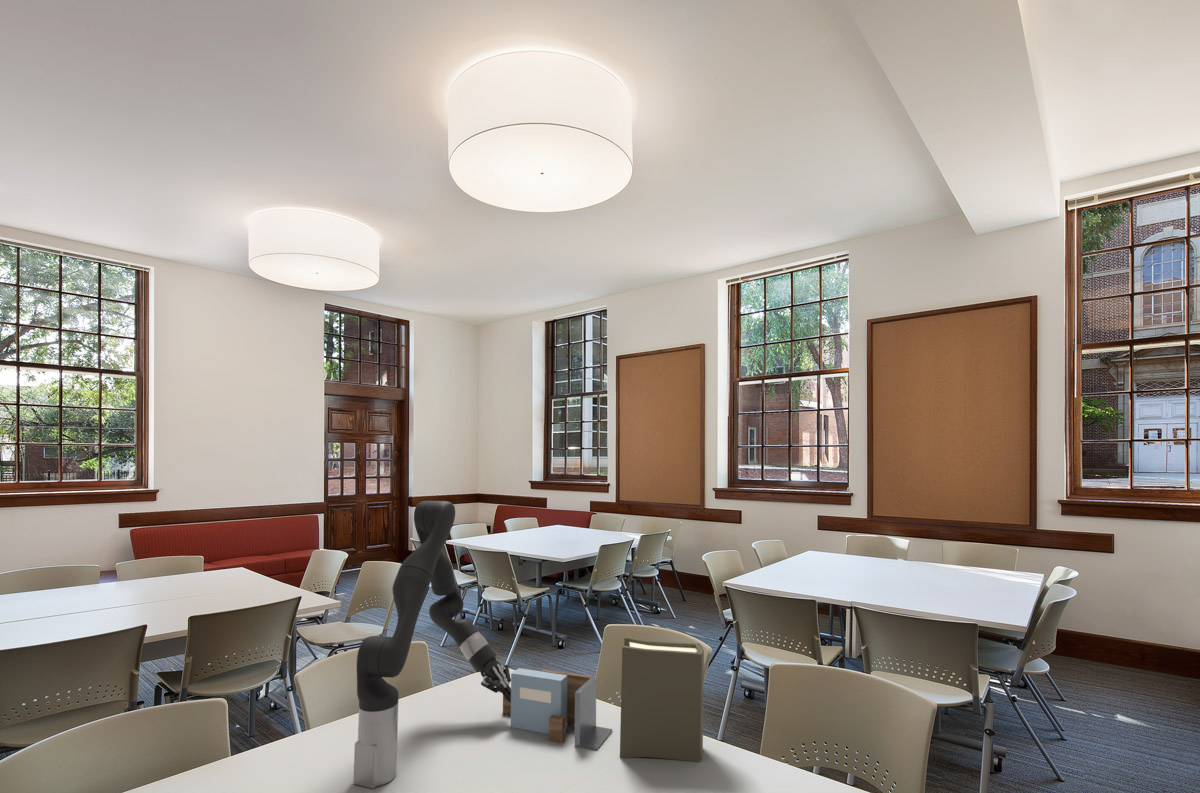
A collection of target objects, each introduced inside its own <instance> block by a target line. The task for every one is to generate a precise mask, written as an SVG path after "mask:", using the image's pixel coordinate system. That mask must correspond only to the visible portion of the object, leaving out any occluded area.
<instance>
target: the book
mask: <svg viewBox="0 0 1200 793" xmlns="http://www.w3.org/2000/svg"><path fill="white" fill-rule="evenodd" d="M623 641H624V642H623V643H624V644H623V645H622V647H621V650H622V651H621V683H620V684H621V686H620V687H621V688H620V689H621V691H620V695H621V697H620V726H619V727H620V732H619V733H620V734H619V739H620V740H619V741H620V742H619V758H620V759H623V758H654V759H664V760H665V759H667V760H677V761H678V760H679V761H687V762H693V763H694V762H695V763H697V762H698V763H701V762H702V759H703V756H704V755H703V754H704V752H703V751H704V749H703V747H704V746H703V745H704V744H703V743H704V734H703V733H704V678H705V677H704V673H705V672H704V670H705V669H704V665H705V659H704V658H705V657H704V656H705V652H704V651H705V650H704V646H703V645H702V644H701V642H699V643H698V642H682V641H679V642H678V641H662V640H649V639H648V640H646V639H641V638H636V637H630V636H624V640H623Z"/></svg>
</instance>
